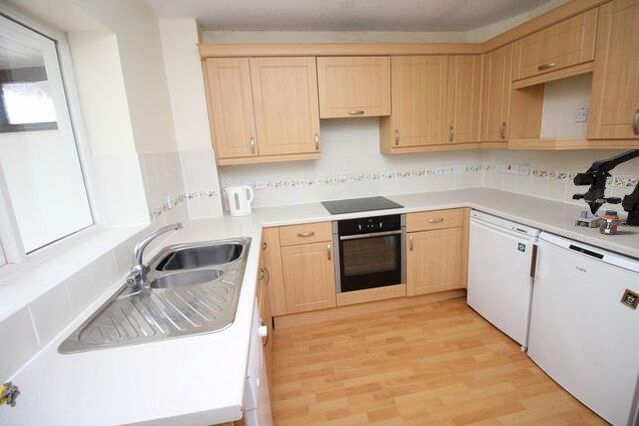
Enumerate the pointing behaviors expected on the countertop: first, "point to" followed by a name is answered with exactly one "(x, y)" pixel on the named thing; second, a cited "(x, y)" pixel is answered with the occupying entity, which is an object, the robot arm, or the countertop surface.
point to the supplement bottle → (609, 223)
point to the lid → (588, 217)
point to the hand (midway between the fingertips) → (593, 214)
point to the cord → (584, 223)
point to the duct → (590, 223)
